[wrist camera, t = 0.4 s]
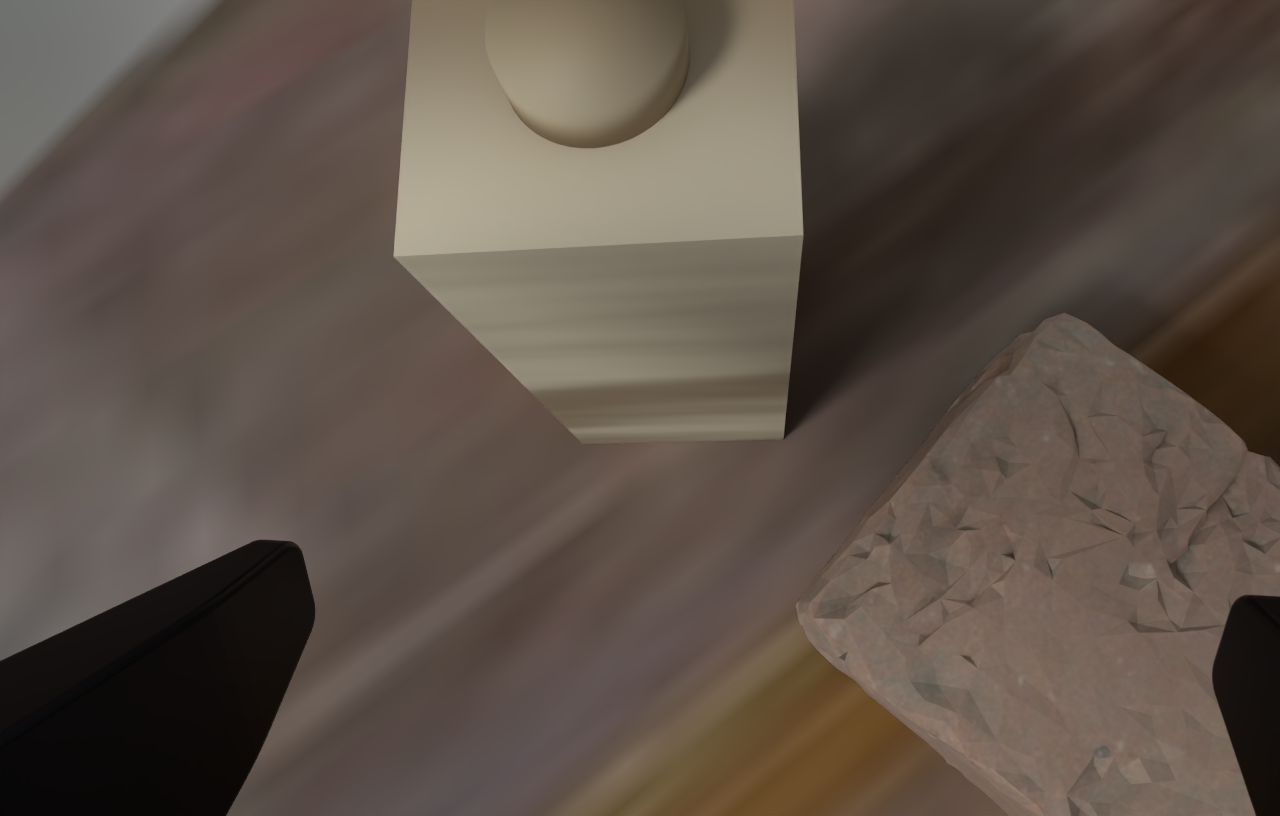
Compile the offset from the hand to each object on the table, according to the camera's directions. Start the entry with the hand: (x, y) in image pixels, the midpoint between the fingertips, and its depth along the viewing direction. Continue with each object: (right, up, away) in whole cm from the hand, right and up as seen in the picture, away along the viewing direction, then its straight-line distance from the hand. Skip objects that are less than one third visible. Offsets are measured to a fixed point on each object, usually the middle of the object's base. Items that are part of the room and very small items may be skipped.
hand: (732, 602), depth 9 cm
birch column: (0, +4, +14) cm, 15 cm away
